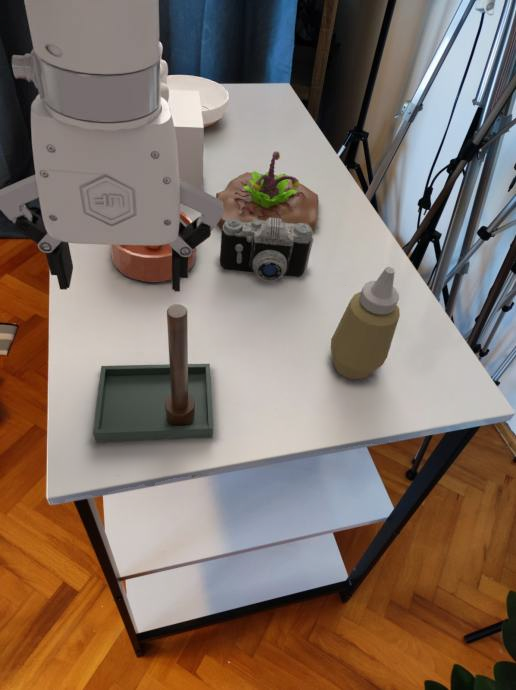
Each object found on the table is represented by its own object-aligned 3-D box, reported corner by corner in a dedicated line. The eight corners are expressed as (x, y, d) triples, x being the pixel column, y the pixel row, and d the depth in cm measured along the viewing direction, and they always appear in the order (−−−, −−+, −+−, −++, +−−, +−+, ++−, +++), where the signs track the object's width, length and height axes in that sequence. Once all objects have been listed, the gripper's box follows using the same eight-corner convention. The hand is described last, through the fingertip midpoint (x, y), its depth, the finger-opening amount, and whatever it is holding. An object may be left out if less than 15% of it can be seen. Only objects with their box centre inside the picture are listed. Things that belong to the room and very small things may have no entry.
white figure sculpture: (197, 162, 104) (199, 28, 85) (203, 212, 93) (206, 70, 74) (126, 160, 102) (111, 22, 83) (122, 211, 90) (104, 65, 71)
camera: (217, 282, 80) (219, 231, 73) (220, 255, 85) (223, 206, 77) (306, 291, 81) (318, 242, 74) (305, 264, 86) (316, 216, 78)
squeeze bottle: (343, 393, 68) (381, 300, 55) (315, 351, 73) (343, 256, 59) (390, 377, 71) (437, 284, 57) (360, 337, 75) (397, 243, 62)
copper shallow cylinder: (109, 284, 77) (104, 257, 73) (115, 231, 86) (112, 204, 82) (197, 284, 79) (197, 258, 75) (194, 232, 88) (195, 206, 84)
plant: (327, 198, 100) (340, 146, 92) (305, 254, 87) (316, 199, 79) (235, 174, 102) (239, 121, 94) (200, 225, 90) (200, 169, 81)
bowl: (138, 102, 120) (136, 75, 115) (216, 99, 125) (217, 74, 120) (152, 141, 108) (150, 113, 103) (237, 137, 113) (239, 110, 109)
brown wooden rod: (161, 423, 61) (152, 318, 47) (173, 400, 64) (167, 294, 49) (188, 431, 61) (186, 328, 47) (198, 409, 63) (201, 304, 49)
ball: (158, 255, 83) (144, 248, 84) (168, 241, 84) (154, 234, 85) (152, 245, 80) (138, 238, 81) (162, 231, 81) (148, 224, 82)
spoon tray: (95, 442, 59) (92, 433, 58) (103, 375, 66) (101, 365, 64) (212, 437, 62) (213, 428, 60) (209, 372, 68) (209, 363, 66)
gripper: (-62, 96, 28) (12, 308, 41) (238, 119, 31) (219, 310, 44) (-27, 48, 33) (29, 251, 46) (229, 71, 36) (215, 256, 49)
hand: (122, 280), depth 45 cm, fingers open, 9 cm apart
